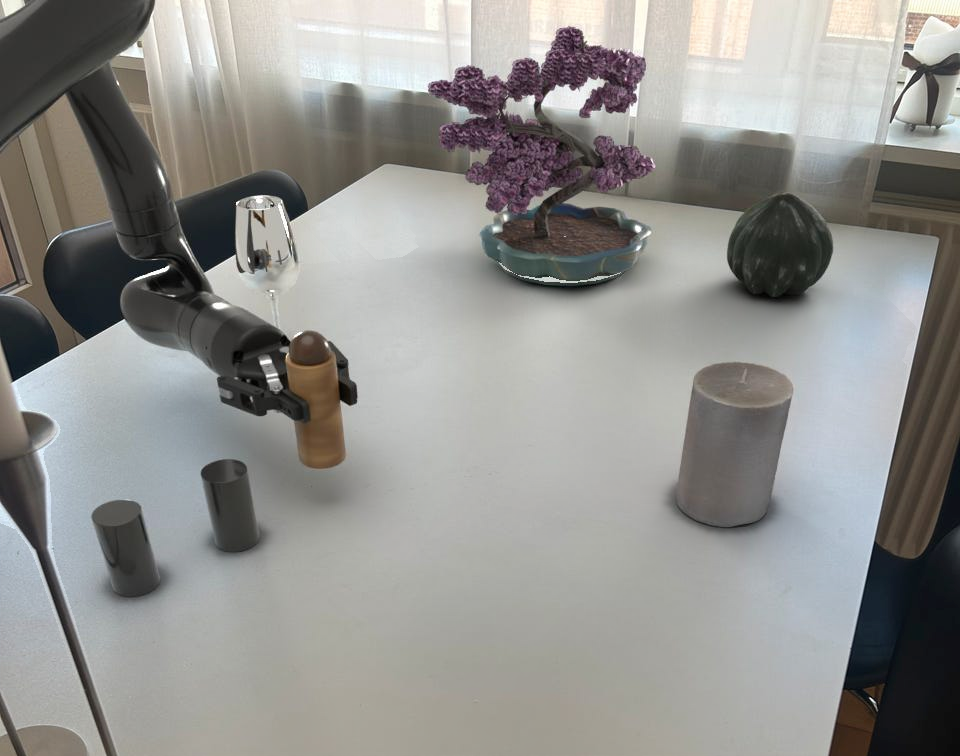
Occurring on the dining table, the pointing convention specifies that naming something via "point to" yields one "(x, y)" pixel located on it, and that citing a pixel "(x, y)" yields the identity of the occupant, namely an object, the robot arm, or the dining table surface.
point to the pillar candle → (732, 442)
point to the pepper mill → (316, 400)
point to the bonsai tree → (551, 163)
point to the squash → (780, 246)
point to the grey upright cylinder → (230, 505)
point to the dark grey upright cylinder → (126, 547)
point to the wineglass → (266, 248)
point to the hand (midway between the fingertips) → (330, 404)
